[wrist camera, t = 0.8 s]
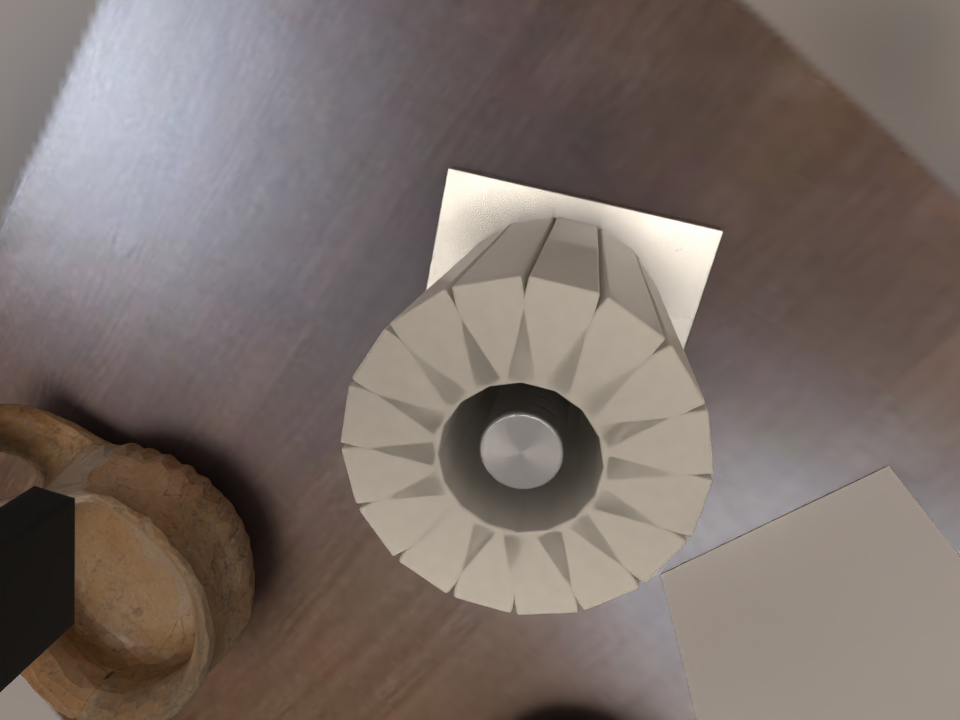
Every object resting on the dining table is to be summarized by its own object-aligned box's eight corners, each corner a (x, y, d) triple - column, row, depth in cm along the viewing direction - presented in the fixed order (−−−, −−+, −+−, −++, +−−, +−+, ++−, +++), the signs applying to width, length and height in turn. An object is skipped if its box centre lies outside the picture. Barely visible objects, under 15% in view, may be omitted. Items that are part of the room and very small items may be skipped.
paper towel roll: (465, 195, 29) (370, 237, 16) (693, 248, 28) (769, 333, 16) (425, 400, 32) (322, 560, 20) (626, 453, 31) (648, 654, 19)
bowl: (-49, 523, 39) (-230, 600, 29) (82, 337, 38) (-58, 351, 28) (195, 695, 40) (100, 826, 30) (329, 518, 39) (278, 592, 29)
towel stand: (452, 166, 29) (344, 187, 17) (720, 227, 28) (821, 299, 16) (407, 406, 33) (295, 568, 21) (640, 467, 32) (669, 676, 20)
